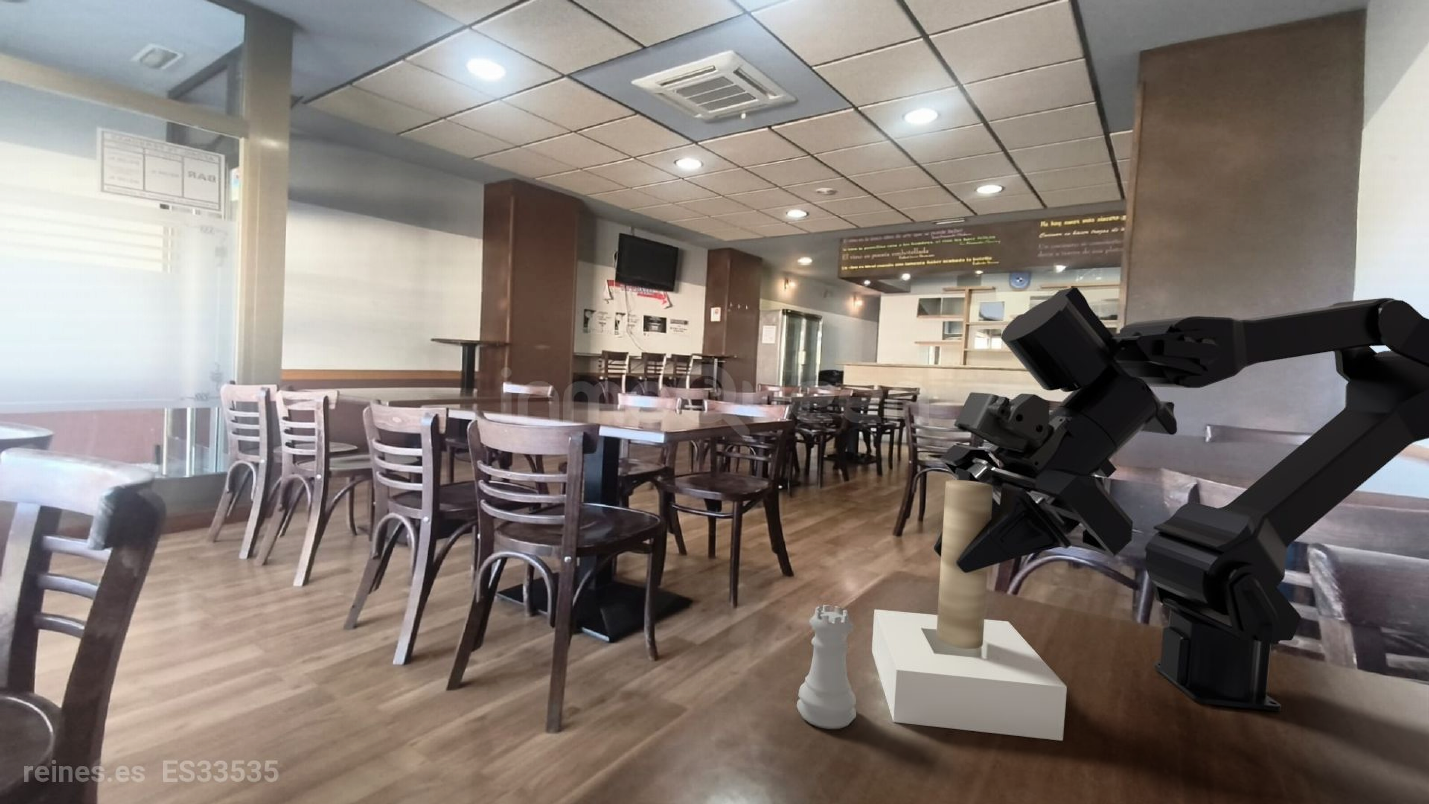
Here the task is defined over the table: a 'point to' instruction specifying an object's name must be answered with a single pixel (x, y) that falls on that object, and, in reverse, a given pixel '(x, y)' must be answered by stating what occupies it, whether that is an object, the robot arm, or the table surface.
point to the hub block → (966, 679)
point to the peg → (958, 589)
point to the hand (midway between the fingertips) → (948, 560)
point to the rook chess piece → (828, 673)
